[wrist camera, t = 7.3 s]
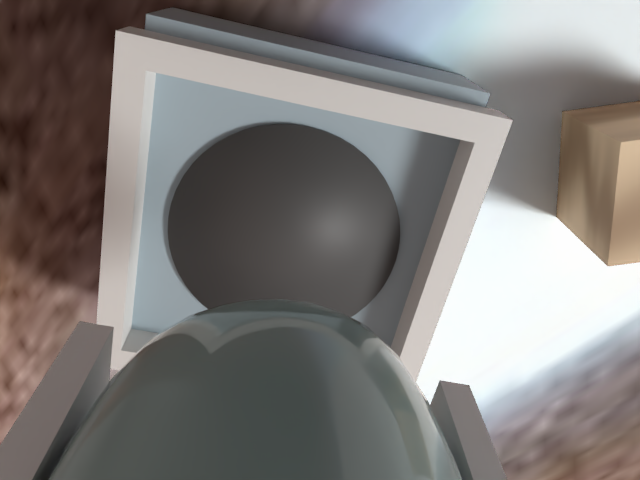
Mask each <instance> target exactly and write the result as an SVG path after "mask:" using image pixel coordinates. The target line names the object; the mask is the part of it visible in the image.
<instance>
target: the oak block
mask: <svg viewBox="0 0 640 480" xmlns="http://www.w3.org/2000/svg"><path fill="white" fill-rule="evenodd" d="M556 217H557V218H558V219H559V220H560V221H561V222H562V223H563V224H564V225H565V226H566V227H567V228H568V229H570V230H571V231H572V232H573V233H574V234H575V235H576V236H577V237H578V238H579V239H580V240H581V241H582V242H583V243H584V244H585V245H586V246H587V247H588V248H589V249H590V250H591V251H592V252H593V253H595V254H596V255H597V256H598V257H599V258H600V259H601V260H602V261H603V262H604V263H605V264H606V265H607V266H613V265H621V264H629V263H637V262H640V101H635V102H628V103H620V104H613V105H605V106H598V107H590V108H583V109H575V110H568V111H562V126H561V144H560V161H559V178H558V196H557V213H556Z"/></svg>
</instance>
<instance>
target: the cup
mask: <svg viewBox="0 0 640 480" xmlns="http://www.w3.org/2000/svg"><path fill="white" fill-rule="evenodd" d="M47 480H462V477H461V475H460V472H459V470H458V467H457V464H456V462H455V459H454V457H453V454H452V452H451V450H450V447H449V445H448V443H447V440H446V438H445V436H444V433H443V431H442V429H441V427H440V424H439V422H438V420H437V418H436V416H435V414H434V412H433V410H432V409H431V407H430V405H429V403H428V401H427V399H426V397H425V395H424V394H423V392H422V391H421V389H420V388H419V386H418V385H417V383H416V382H415V380H414V379H413V377H412V376H411V374H410V373H409V371H408V370H407V368H406V367H405V365H404V364H403V362H402V361H401V359H400V357H399V356H398V355H397V354H396V353H395V352H394V351H393V350H392V349H391V348H390V347H389V346H388V344H387V343H385V342H384V341H383V340H382V339H381V338H380V337H379V336H378V335H377V334H376V333H374V332H373V331H372V330H371V329H370V328H369V327H368V326H366V325H365V324H363V323H361V322H359V321H357V320H355V319H353V318H352V317H350V316H348V315H346V314H344V313H342V312H340V311H338V310H335V309H332V308H329V307H325V306H322V305H319V304H316V303H312V302H307V301H300V300H292V299H284V298H269V299H249V300H243V301H237V302H231V303H225V304H222V305H219V306H216V307H213V308H210V309H207V310H204V311H201V312H198V313H195V314H192V315H189V316H187V317H186V318H184V319H182V320H180V321H178V322H176V323H175V324H173V325H171V326H169V327H167V328H165V329H164V330H163V331H161V332H160V333H159V334H157V335H156V336H155V337H154V338H152V339H151V340H150V341H149V342H148V343H147V344H145V345H144V346H143V347H142V348H141V349H140V350H139V351H138V352H136V353H135V354H134V355H133V356H132V357H131V358H130V359H129V360H128V361H127V362H126V363H125V364H124V365H123V367H122V368H121V369H120V370H119V371H118V372H117V373H116V374H115V375H114V377H113V378H112V379H111V381H110V382H109V383H108V385H107V386H106V387H105V389H104V390H103V391H102V393H101V394H100V396H99V397H98V398H97V400H96V401H95V403H94V404H93V406H92V407H91V409H90V410H89V412H88V414H87V415H86V417H85V418H84V420H83V422H82V423H81V425H80V426H79V428H78V429H77V431H76V433H75V434H74V436H73V437H72V439H71V441H70V442H69V444H68V446H67V447H66V449H65V451H64V452H63V454H62V455H61V457H60V459H59V460H58V462H57V464H56V465H55V467H54V469H53V471H52V472H51V474H50V476H49V478H48V479H47Z"/></svg>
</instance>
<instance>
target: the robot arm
mask: <svg viewBox="0 0 640 480" xmlns="http://www.w3.org/2000/svg"><path fill="white" fill-rule="evenodd" d="M113 331H114V327H111V326H105V325H99V324H93V323H87V322H81V321H80V322H79V323H78V325H77V326H76V328H75V330H74V331H73V333H72V334H71V336H70V337H69V339H68V340H67V342H66V344H65V345H64V347H63V348H62V350H61V351H60V353H59V354H58V356H57V358H56V359H55V361H54V362H53V364H52V365H51V367H50V368H49V370H48V372H47V373H46V375H45V376H44V378H43V379H42V381H41V382H40V384H39V386H38V387H37V389H36V390H35V392H34V393H33V395H32V397H31V398H30V400H29V401H28V403H27V404H26V406H25V407H24V409H23V411H22V412H21V414H20V415H19V417H18V418H17V420H16V421H15V423H14V425H13V426H12V428H11V429H10V431H9V432H8V434H7V435H6V437H5V439H4V440H3V442H2V443H1V445H0V480H47V479H48V478H49V476H50V474H51V472H52V471H53V469H54V467H55V465H56V464H57V462H58V460H59V459H60V457H61V455H62V454H63V452H64V451H65V449H66V447H67V446H68V444H69V442H70V441H71V439H72V437H73V436H74V434H75V433H76V431H77V429H78V428H79V426H80V425H81V423H82V422H83V420H84V418H85V417H86V415H87V414H88V412H89V410H90V409H91V407H92V406H93V404H94V403H95V401H96V400H97V398H98V397H99V396H100V394H101V393H102V391H103V390H104V389H105V387H106V386H107V385H108V383H109V380H110V367H111V355H112V343H113ZM430 407H431V409H432V410H433V412H434V414H435V416H436V418H437V420H438V422H439V424H440V427H441V429H442V431H443V433H444V436H445V438H446V440H447V443H448V445H449V447H450V450H451V452H452V454H453V457H454V459H455V462H456V464H457V467H458V470H459V472H460V475H461V477H462V480H507V478H506V475H505V473H504V470H503V468H502V465H501V463H500V460H499V458H498V456H497V453H496V451H495V448H494V446H493V443H492V441H491V438H490V436H489V433H488V431H487V428H486V426H485V423H484V421H483V419H482V416H481V414H480V411H479V409H478V406H477V404H476V401H475V399H474V396H473V394H472V391H471V389H470V386H469V385H464V384H458V383H452V382H446V381H440V382H439V384H438V387H437V389H436V392H435V394H434V397H433V399H432V402H431V404H430Z"/></svg>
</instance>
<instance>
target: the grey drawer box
mask: <svg viewBox="0 0 640 480" xmlns="http://www.w3.org/2000/svg"><path fill="white" fill-rule="evenodd" d="M490 94H491V93H489V92H487V91H486V90H484V89H483V88H481V87H480V86H478V85H476V84H475V83H473V82H472V81H470V80H469V79H467V78H465V77H464V76H462V75H459V74H455V73H451V72H446V71H442V70H438V69H434V68H429V67H425V66H421V65H417V64H412V63H408V62H404V61H399V60H395V59H391V58H387V57H382V56H378V55H374V54H370V53H365V52H361V51H357V50H352V49H348V48H344V47H340V46H335V45H331V44H327V43H323V42H318V41H314V40H310V39H305V38H301V37H297V36H293V35H288V34H284V33H280V32H276V31H271V30H267V29H263V28H258V27H254V26H250V25H246V24H241V23H237V22H233V21H229V20H224V19H220V18H216V17H212V16H207V15H203V14H199V13H194V12H190V11H186V10H182V9H177V8H173V7H171V8H167V9H163V10H159V11H155V12H151V13H147V14H146V21H145V30H144V29H140V28H135V27H131V26H128V27H125V28H122V29H118V30H116V33H115V48H114V64H113V79H112V94H111V110H110V125H109V140H108V155H107V171H106V186H105V201H104V217H103V232H102V247H101V263H100V278H99V293H98V308H97V324H99V325H105V326H111V327H114V331H113V343H112V355H111V367H110V369H114V370H120V369H121V368H122V367H123V365H124V364H125V363H126V362H127V361H128V360H129V359H130V358H131V357H132V356H133V355H134V354H135V353H136V352H138V351H139V350H140V349H141V348H142V347H143V346H144V345H145V344H147V343H148V342H149V341H150V340H151V339H152V338H154V337H155V336H156V335H157V334H159V333H160V332H161V331H163V330H164V329H165V328H167V327H169V326H171V325H173V324H175V323H176V322H178V321H180V320H182V319H184V318H186V317H187V316H189V315H192V314H195V313H198V312H201V311H204V310H207V309H210V308H213V307H216V306H219V305H222V304H225V303H231V302H237V301H243V300H249V299H269V298H284V299H292V300H300V301H307V302H312V303H316V304H319V305H322V306H325V307H329V308H332V309H335V310H338V311H340V312H342V313H344V314H346V315H348V316H350V317H352V318H353V319H355V320H357V321H359V322H361V323H363V324H365V325H366V326H368V327H369V328H370V329H371V330H372V331H373V332H374V333H376V334H377V335H378V336H379V337H380V338H381V339H382V340H383V341H384V342H385V343H387V344H388V346H389V347H390V348H391V349H392V350H393V351H394V352H395V353H396V354H397V355H398V356H399V357H400V359H401V361H402V362H403V364H404V365H405V367H406V368H407V370H408V371H409V373H410V374H411V376H412V377H413V379H414V380H415V382H416V380H417V377H418V374H419V372H420V369H421V366H422V364H423V361H424V358H425V356H426V353H427V350H428V348H429V345H430V342H431V340H432V337H433V334H434V331H435V329H436V326H437V323H438V321H439V318H440V315H441V313H442V310H443V307H444V305H445V302H446V299H447V297H448V294H449V291H450V288H451V286H452V283H453V280H454V278H455V275H456V272H457V270H458V267H459V264H460V262H461V259H462V256H463V254H464V251H465V248H466V246H467V243H468V240H469V237H470V235H471V232H472V229H473V227H474V224H475V221H476V219H477V216H478V213H479V211H480V208H481V205H482V203H483V200H484V197H485V194H486V192H487V189H488V186H489V184H490V181H491V178H492V176H493V173H494V170H495V168H496V165H497V162H498V160H499V157H500V154H501V151H502V149H503V146H504V143H505V141H506V138H507V135H508V133H509V130H510V127H511V125H512V122H513V120H512V119H510V118H509V117H508V116H506V115H505V114H503V113H502V112H500V111H499V110H495V109H490V108H486V105H487V102H488V99H489V97H490Z"/></svg>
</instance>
